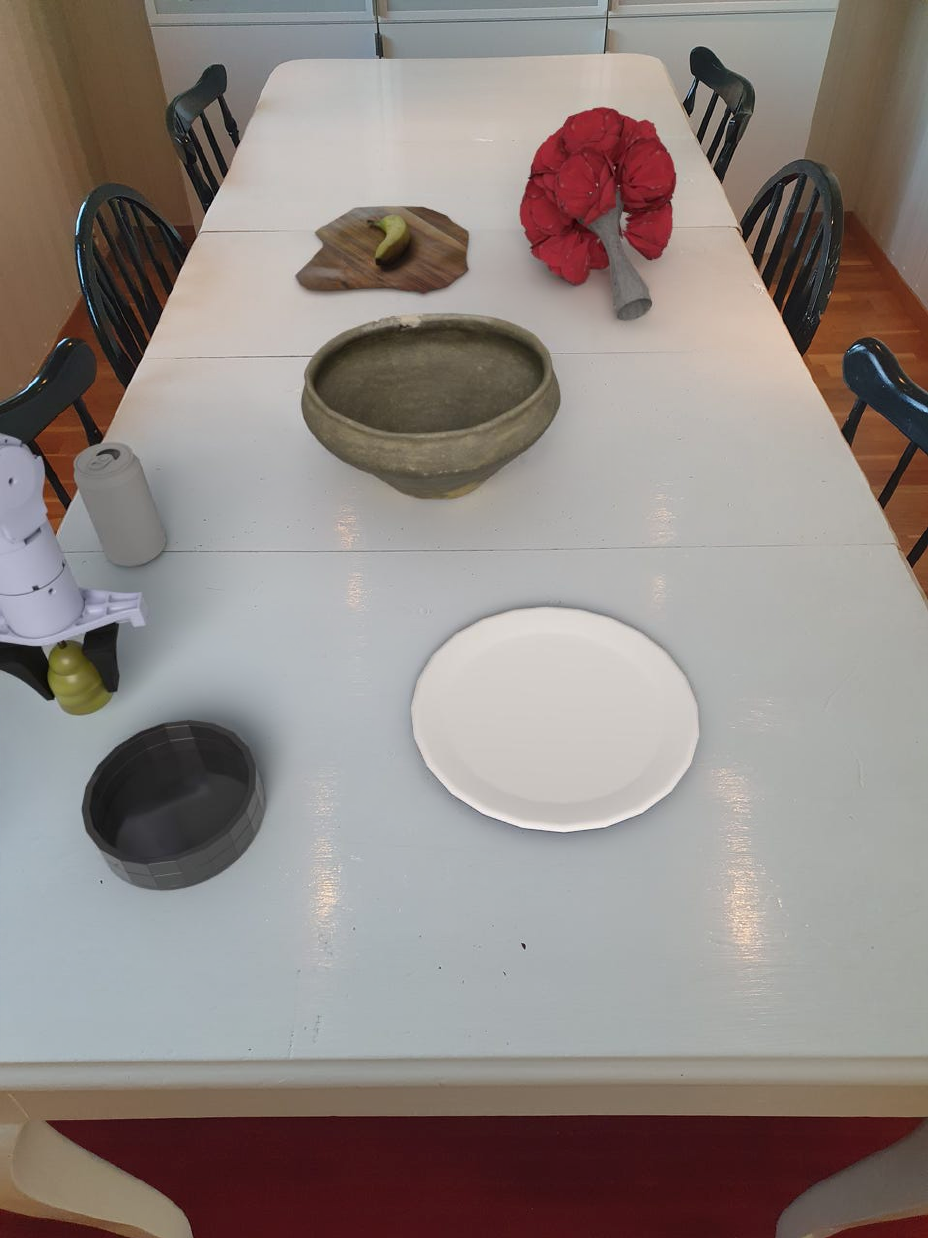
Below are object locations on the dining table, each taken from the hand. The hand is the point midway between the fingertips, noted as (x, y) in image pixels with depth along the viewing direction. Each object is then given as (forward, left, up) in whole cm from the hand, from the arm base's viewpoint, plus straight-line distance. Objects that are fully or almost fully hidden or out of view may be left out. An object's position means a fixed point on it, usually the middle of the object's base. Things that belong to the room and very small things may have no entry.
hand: (83, 687), depth 77 cm
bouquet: (+96, +24, -4) cm, 99 cm away
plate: (+29, -28, -4) cm, 41 cm away
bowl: (+46, +6, -4) cm, 47 cm away
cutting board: (+82, +57, -4) cm, 100 cm away
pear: (0, 0, -1) cm, 1 cm away
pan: (0, -14, -4) cm, 15 cm away
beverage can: (+14, +18, -4) cm, 23 cm away
